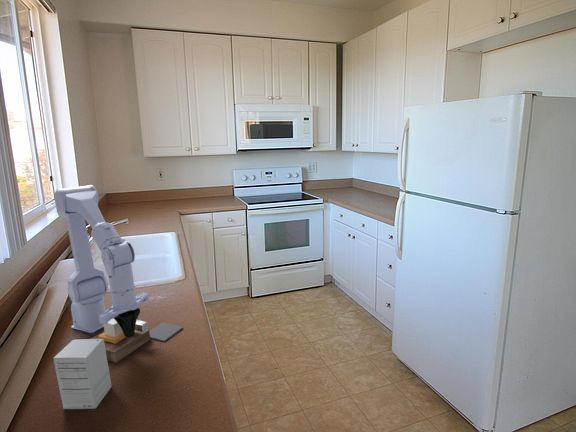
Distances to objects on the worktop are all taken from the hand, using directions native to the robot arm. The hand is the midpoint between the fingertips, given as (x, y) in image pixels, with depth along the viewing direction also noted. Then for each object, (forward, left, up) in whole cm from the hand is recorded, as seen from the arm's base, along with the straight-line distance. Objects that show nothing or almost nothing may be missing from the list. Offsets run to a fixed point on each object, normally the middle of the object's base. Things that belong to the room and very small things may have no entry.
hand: (129, 335), depth 98 cm
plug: (-6, +1, -5) cm, 8 cm away
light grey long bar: (-5, +4, -2) cm, 7 cm away
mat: (+1, +11, -5) cm, 12 cm away
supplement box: (+5, -17, -5) cm, 19 cm away
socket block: (-6, +1, -5) cm, 8 cm away
